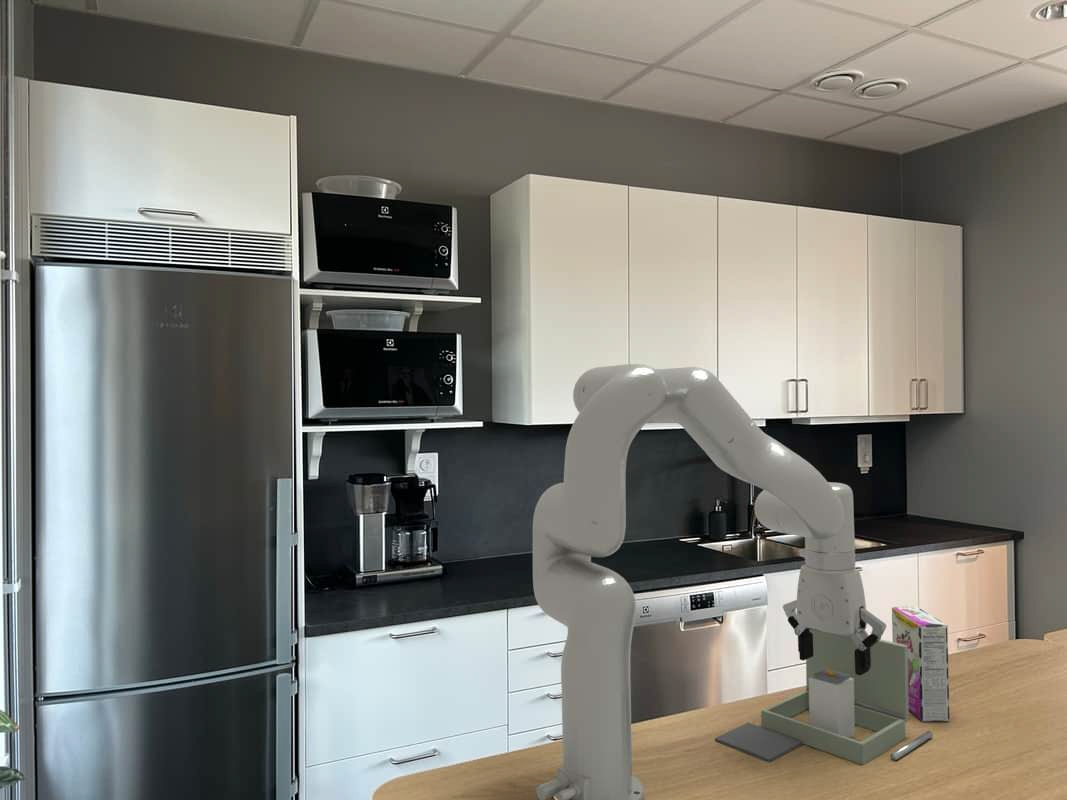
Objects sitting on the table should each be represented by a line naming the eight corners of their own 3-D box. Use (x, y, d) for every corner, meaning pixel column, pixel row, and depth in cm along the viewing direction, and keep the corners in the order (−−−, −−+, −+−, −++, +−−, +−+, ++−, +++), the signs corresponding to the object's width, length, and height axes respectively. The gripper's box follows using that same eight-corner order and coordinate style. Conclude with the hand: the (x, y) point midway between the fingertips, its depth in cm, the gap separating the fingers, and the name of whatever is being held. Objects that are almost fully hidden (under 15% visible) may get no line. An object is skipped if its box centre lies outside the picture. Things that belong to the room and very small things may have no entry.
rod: (896, 761, 119) (896, 754, 119) (890, 759, 119) (890, 752, 119) (932, 738, 126) (932, 731, 126) (926, 736, 127) (926, 729, 127)
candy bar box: (891, 697, 143) (890, 606, 143) (919, 697, 143) (918, 605, 143) (920, 723, 132) (919, 624, 132) (951, 722, 132) (949, 623, 132)
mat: (769, 762, 119) (769, 759, 119) (714, 740, 127) (714, 738, 127) (802, 744, 125) (802, 741, 125) (748, 724, 133) (748, 722, 133)
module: (838, 743, 125) (837, 678, 125) (809, 733, 129) (808, 670, 129) (854, 734, 128) (853, 670, 128) (826, 724, 132) (825, 663, 132)
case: (862, 764, 118) (861, 666, 118) (761, 728, 131) (760, 640, 131) (909, 735, 127) (908, 645, 127) (810, 704, 141) (809, 622, 141)
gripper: (770, 556, 133) (773, 658, 133) (870, 572, 120) (874, 685, 120) (795, 549, 138) (798, 647, 138) (894, 563, 124) (897, 672, 125)
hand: (833, 665), depth 129 cm, fingers open, 9 cm apart
